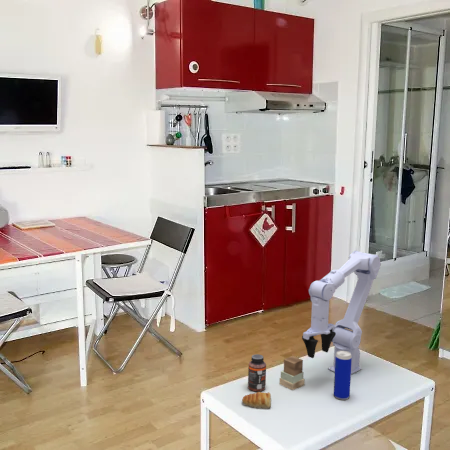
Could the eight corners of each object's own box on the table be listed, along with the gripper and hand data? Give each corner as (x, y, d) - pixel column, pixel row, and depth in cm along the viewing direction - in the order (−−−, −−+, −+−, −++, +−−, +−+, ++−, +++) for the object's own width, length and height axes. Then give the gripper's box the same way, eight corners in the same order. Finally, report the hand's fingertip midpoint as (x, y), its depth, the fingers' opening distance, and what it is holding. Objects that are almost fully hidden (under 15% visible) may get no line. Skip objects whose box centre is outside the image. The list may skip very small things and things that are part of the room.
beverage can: (339, 391, 182) (341, 348, 180) (352, 396, 179) (355, 353, 176) (330, 396, 179) (332, 353, 176) (343, 402, 175) (346, 358, 173)
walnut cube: (292, 368, 189) (292, 355, 188) (302, 372, 186) (302, 359, 185) (283, 371, 186) (284, 359, 185) (293, 376, 183) (294, 363, 182)
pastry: (241, 409, 171) (242, 397, 170) (242, 398, 177) (242, 387, 177) (271, 410, 170) (272, 398, 170) (271, 399, 177) (271, 388, 176)
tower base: (291, 379, 191) (291, 373, 191) (304, 385, 187) (304, 379, 186) (279, 384, 187) (279, 378, 187) (292, 391, 183) (292, 384, 182)
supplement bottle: (264, 393, 181) (265, 361, 179) (246, 391, 182) (247, 359, 180) (266, 385, 186) (267, 353, 184) (249, 383, 187) (250, 352, 185)
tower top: (290, 373, 190) (291, 366, 190) (303, 378, 186) (303, 371, 186) (280, 378, 187) (280, 371, 186) (293, 383, 183) (293, 376, 182)
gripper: (315, 324, 177) (313, 363, 179) (342, 314, 186) (340, 352, 188) (298, 318, 182) (297, 356, 184) (326, 309, 191) (324, 346, 194)
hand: (318, 354), depth 187 cm, fingers open, 7 cm apart
